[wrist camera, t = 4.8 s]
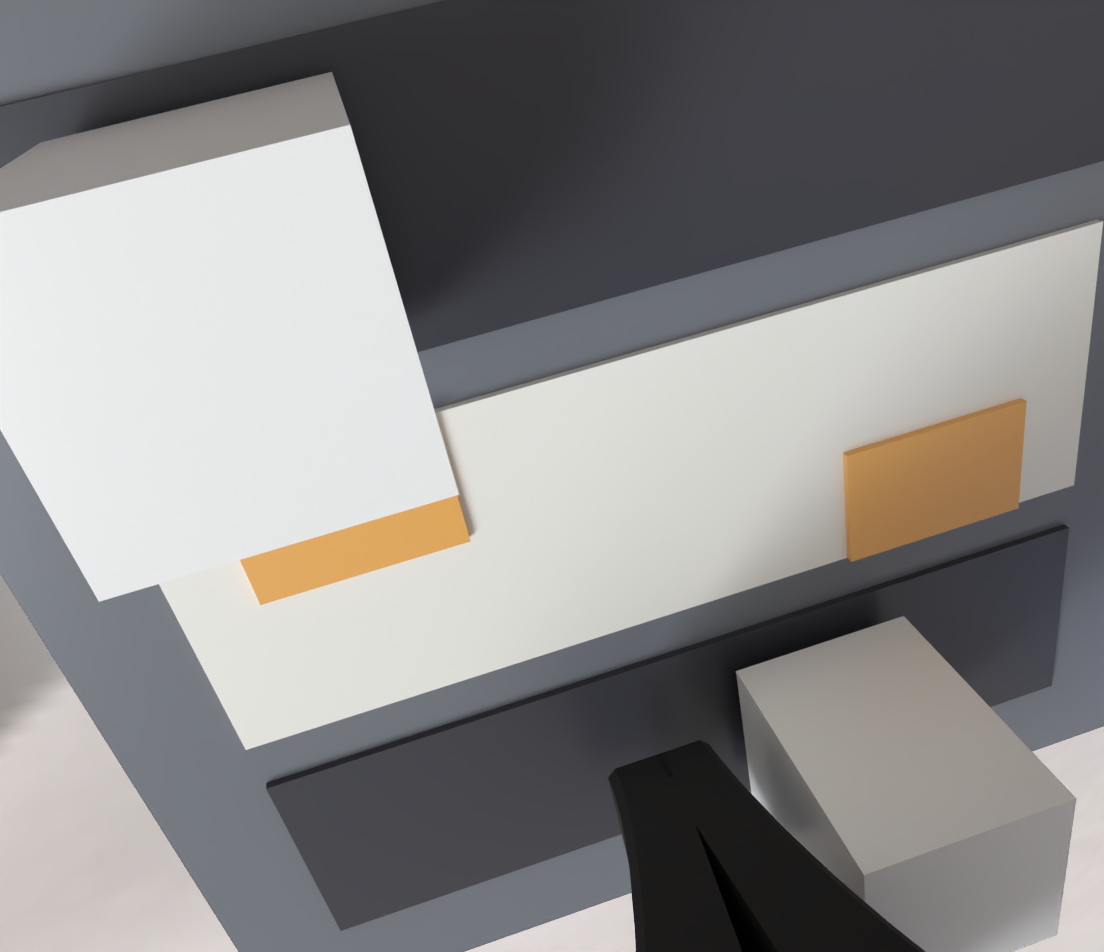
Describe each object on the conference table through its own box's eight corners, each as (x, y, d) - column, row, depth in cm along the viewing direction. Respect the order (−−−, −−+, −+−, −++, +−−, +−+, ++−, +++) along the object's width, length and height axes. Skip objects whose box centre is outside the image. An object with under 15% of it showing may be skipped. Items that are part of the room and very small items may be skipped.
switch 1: (331, 71, 8) (349, 125, 5) (410, 336, 9) (459, 493, 6) (40, 143, 7) (-110, 238, 5) (161, 404, 9) (100, 600, 6)
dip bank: (1163, -350, 9) (1322, -410, 8) (1053, 663, 17) (1125, 730, 15) (-279, -42, 8) (-409, -45, 6) (280, 927, 15) (279, 1029, 14)
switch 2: (903, 615, 12) (1075, 798, 10) (903, 740, 14) (1056, 933, 11) (736, 671, 12) (864, 875, 9) (751, 794, 13) (868, 1006, 11)
